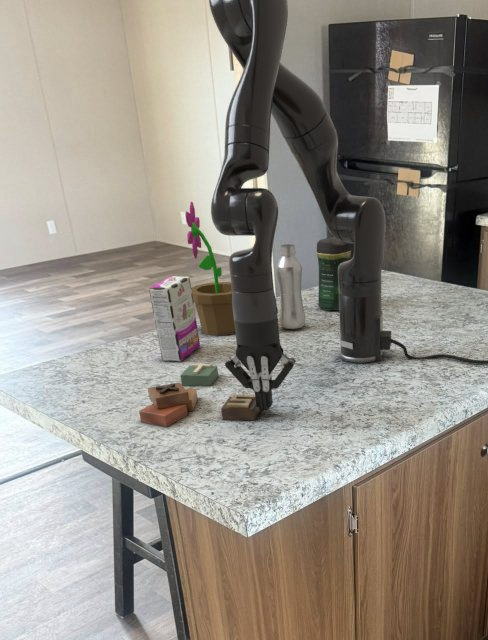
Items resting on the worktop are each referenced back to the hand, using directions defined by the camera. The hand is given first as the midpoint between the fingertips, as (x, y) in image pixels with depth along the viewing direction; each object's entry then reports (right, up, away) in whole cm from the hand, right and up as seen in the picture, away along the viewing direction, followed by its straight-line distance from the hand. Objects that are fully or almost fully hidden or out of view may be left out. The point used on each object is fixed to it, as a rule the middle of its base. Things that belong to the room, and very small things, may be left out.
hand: (265, 409), depth 129 cm
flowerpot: (-18, +27, +49) cm, 59 cm away
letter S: (-4, -1, +1) cm, 5 cm away
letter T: (-16, +8, +17) cm, 25 cm away
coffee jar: (+10, +38, +66) cm, 77 cm away
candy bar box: (-24, +17, +33) cm, 44 cm away
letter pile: (-18, 0, +2) cm, 18 cm away
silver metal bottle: (0, +28, +49) cm, 56 cm away
